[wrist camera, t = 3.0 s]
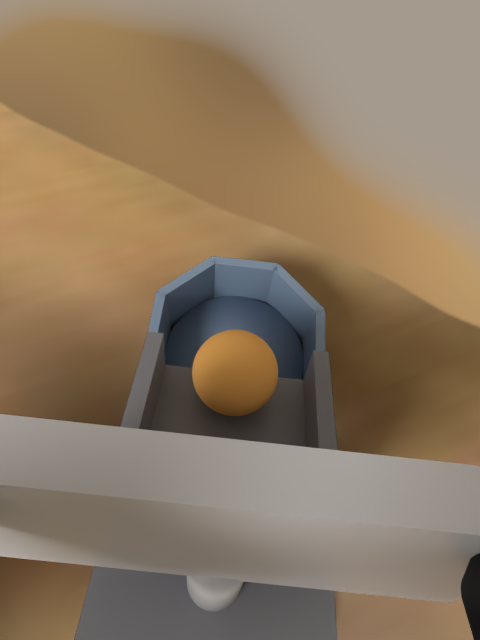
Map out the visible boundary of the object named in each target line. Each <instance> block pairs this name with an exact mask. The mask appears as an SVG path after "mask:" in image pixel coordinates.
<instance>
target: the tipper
mask: <svg viewBox="0 0 480 640" xmlns="http://www.w3.org/2000/svg"><path fill="white" fill-rule="evenodd" d="M479 553H480V466H478V465H469V464H459V463H450V462H441V461H432V460H422V459H413V458H404V457H394V456H385V455H376V454H367V453H357V452H348V451H339V450H337V439H336V427H335V416H334V405H333V394H332V382H331V371H330V360H329V352H328V351H319V350H313V352H312V355H311V358H310V361H309V365H308V368H307V371H306V374H305V377H304V380H299V379H290V378H281V377H278V381H277V385H276V388H275V391H274V392H273V394H272V396H271V398H270V399H269V400H268V401H267V403H266V404H265V405H264V406H262V407H261V408H260V409H258V410H256V411H255V412H253V413H250V414H247V415H243V416H227V415H223V414H220V413H218V412H215V411H214V410H212V409H211V408H209V407H208V406H207V405H206V404H205V403H204V402H203V401H202V400H201V399H200V397H199V396H198V394H197V392H196V390H195V387H194V384H193V378H192V368H190V367H181V366H172V365H166V364H165V349H164V333H156V332H148V333H147V336H146V340H145V343H144V347H143V350H142V354H141V357H140V360H139V364H138V367H137V371H136V374H135V378H134V381H133V384H132V388H131V391H130V395H129V398H128V402H127V405H126V408H125V412H124V415H123V419H122V422H121V426H120V427H116V426H107V425H98V424H88V423H79V422H70V421H61V420H51V419H42V418H33V417H24V416H14V415H5V414H0V556H2V557H11V558H21V559H31V560H40V561H50V562H60V563H70V564H79V565H89V566H94V568H93V572H92V575H91V579H90V583H89V586H88V590H87V594H86V597H85V601H84V605H83V608H82V612H81V616H80V619H79V623H78V627H77V631H76V634H75V638H74V640H337V628H336V613H335V598H334V591H341V592H350V593H360V594H370V595H379V596H389V597H399V598H408V599H418V600H428V601H437V602H447V603H450V602H452V601H454V600H456V599H458V598H461V597H462V596H461V581H462V578H463V576H464V573H465V570H466V568H467V565H468V563H469V560H470V558H471V557H473V556H475V555H476V554H479Z"/></svg>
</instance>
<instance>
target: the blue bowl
mask: <svg viewBox="0 0 480 640" xmlns="http://www.w3.org/2000/svg"><path fill="white" fill-rule="evenodd" d="M277 264H278V263H271V262H262V261H253V260H244V259H235V258H227V257H218V256H213V258H212V257H210V258H208V259H206V260H205V261H203V262H202V263H200V264H198V265H197V266H195V267H194V268H192V269H191V270H189V271H187V272H186V273H184V274H183V275H181V276H179V277H178V278H176V279H175V280H173V281H171V282H170V283H168V284H167V285H165V286H163V287H162V288H160V289H159V290H158V292H156V296H155V300H154V305H153V310H152V314H151V319H150V324H149V328H148V332H156V333H164V349H165V364H166V365H172V366H181V367H190V368H193V362H194V359H195V356H196V354H197V352H198V350H199V349H200V347H201V346H202V345H203V344H204V342H206V341H207V340H208V339H209V338H210V337H212V336H213V335H215V334H217V333H220V332H223V331H226V330H233V329H234V330H244V331H248V332H251V333H253V334H255V335H257V336H259V337H260V338H262V339H263V340H264V341H265V342H266V343H267V344H268V346H269V347H270V348H271V350H272V351H273V353H274V355H275V358H276V361H277V365H278V377H281V378H290V379H299V380H304V377H305V374H306V371H307V368H308V365H309V361H310V358H311V355H312V352H313V350H319V351H325V311H324V308H323V307H322V306H321V305H320V304H319V303H318V302H317V301H316V300H315V299H314V298H313V297H312V296H311V295H310V294H309V293H308V292H307V291H306V290H305V289H304V288H303V287H302V286H301V285H300V284H299V283H298V282H297V281H296V280H295V279H294V278H293V277H292V276H291V275H290V274H289V273H288V272H287V271H286V270H285V269H284V268H283V267H282V266H281V265H280V264H279V265H277ZM175 324H176V325H175ZM174 325H175V326H174ZM172 326H174V328H173V329H172V331H171V333H170V329H171V327H172ZM299 339H300V340H301V341H302V346H301V343H300V340H299Z"/></svg>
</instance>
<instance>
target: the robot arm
mask: <svg viewBox="0 0 480 640" xmlns="http://www.w3.org/2000/svg"><path fill="white" fill-rule="evenodd" d="M461 596H462V600H463V604H464V607H465V610H466V614H467V617H468V621H469V624H470V628H471V631H472V634H473V638H474V640H480V553H479V554H476V555H475V556H473V557H471V558H470V560H469V563H468V565H467V568H466V570H465V573H464V576H463V578H462V581H461Z"/></svg>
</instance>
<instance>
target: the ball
mask: <svg viewBox="0 0 480 640" xmlns="http://www.w3.org/2000/svg"><path fill="white" fill-rule="evenodd" d="M192 378H193V384H194V387H195V390H196V392H197V394H198V396H199V397H200V399H201V400H202V401H203V402H204V403H205V404H206V405H207V406H208V407H209V408H211V409H212V410H214V411H215V412H218V413H220V414H223V415H227V416H243V415H247V414H250V413H253V412H255V411H256V410H258V409H260V408H261V407H262V406H264V405H265V404H266V403H267V401H268V400H269V399H270V398H271V396H272V394H273V392H274V391H275V388H276V385H277V381H278V365H277V361H276V358H275V355H274V353H273V351H272V350H271V348H270V347H269V346H268V344H267V343H266V342H265V341H264V340H263V339H262V338H260V337H259V336H257V335H255V334H253V333H251V332H248V331H244V330H234V329H233V330H226V331H223V332H220V333H217V334H215V335H213V336H212V337H210V338H209V339H208V340H207V341H206V342H204V344H203V345H202V346H201V347H200V349H199V350H198V352H197V354H196V356H195V359H194V362H193V368H192Z"/></svg>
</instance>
